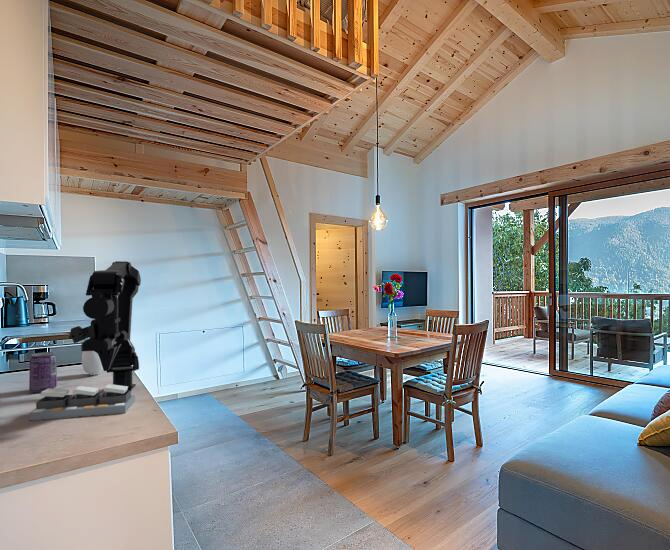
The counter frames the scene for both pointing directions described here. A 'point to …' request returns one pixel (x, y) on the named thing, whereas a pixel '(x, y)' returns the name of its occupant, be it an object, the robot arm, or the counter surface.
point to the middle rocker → (86, 390)
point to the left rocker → (55, 392)
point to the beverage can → (42, 371)
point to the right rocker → (115, 388)
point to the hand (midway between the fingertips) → (106, 370)
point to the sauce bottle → (91, 362)
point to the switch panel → (82, 405)
